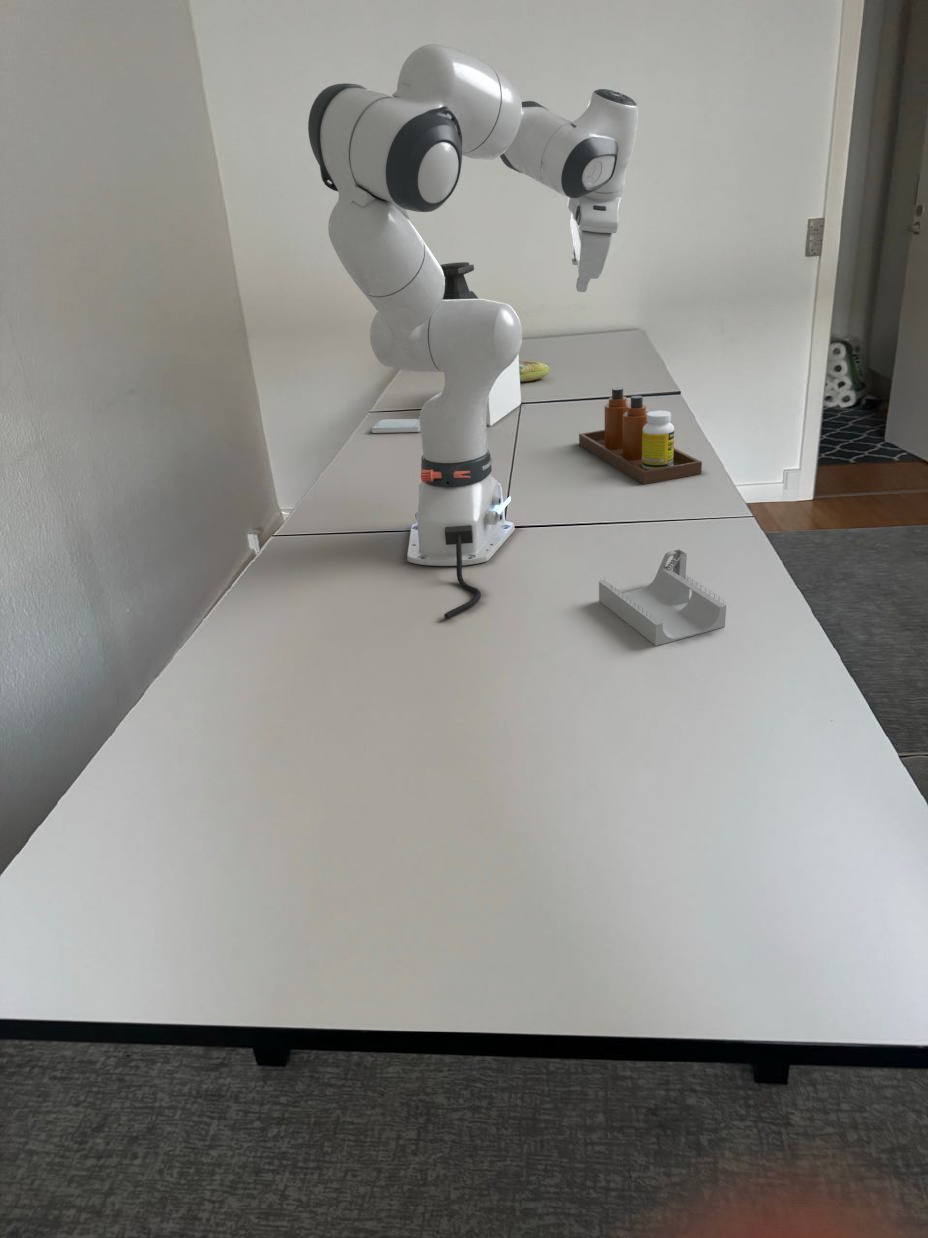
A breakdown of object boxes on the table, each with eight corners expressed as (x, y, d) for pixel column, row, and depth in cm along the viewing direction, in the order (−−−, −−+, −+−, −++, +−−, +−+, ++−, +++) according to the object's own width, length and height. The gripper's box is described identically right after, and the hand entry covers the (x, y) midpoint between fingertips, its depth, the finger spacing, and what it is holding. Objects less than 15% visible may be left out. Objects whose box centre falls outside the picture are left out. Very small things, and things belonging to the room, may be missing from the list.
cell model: (551, 373, 247) (503, 358, 245) (542, 397, 252) (495, 382, 250) (550, 358, 255) (503, 344, 253) (542, 381, 260) (496, 367, 258)
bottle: (494, 349, 302) (488, 260, 288) (470, 359, 290) (462, 266, 276) (452, 348, 311) (444, 261, 298) (427, 358, 299) (418, 267, 286)
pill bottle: (673, 472, 166) (675, 416, 161) (641, 472, 168) (642, 417, 162) (672, 462, 172) (674, 408, 166) (642, 463, 173) (643, 409, 168)
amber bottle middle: (654, 457, 176) (655, 397, 170) (629, 461, 174) (630, 401, 169) (642, 450, 180) (642, 392, 175) (618, 454, 179) (618, 396, 174)
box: (451, 429, 211) (445, 372, 204) (445, 394, 246) (441, 344, 239) (530, 422, 211) (527, 364, 204) (513, 387, 246) (510, 337, 240)
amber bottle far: (634, 446, 183) (635, 389, 178) (611, 450, 182) (611, 392, 176) (623, 440, 188) (623, 384, 182) (600, 444, 187) (600, 387, 181)
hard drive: (371, 427, 213) (418, 426, 210) (381, 418, 220) (426, 417, 217) (372, 433, 214) (418, 432, 211) (382, 425, 221) (427, 423, 218)
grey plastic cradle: (599, 601, 121) (598, 568, 118) (678, 580, 125) (679, 548, 122) (655, 646, 108) (656, 611, 106) (741, 622, 112) (744, 587, 110)
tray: (701, 473, 165) (701, 461, 164) (643, 484, 163) (643, 472, 162) (629, 435, 193) (629, 425, 191) (579, 444, 190) (578, 433, 189)
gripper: (571, 170, 148) (557, 246, 159) (581, 225, 135) (565, 304, 146) (606, 173, 148) (589, 249, 159) (620, 228, 136) (601, 307, 146)
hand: (578, 276), depth 152 cm, fingers open, 8 cm apart
